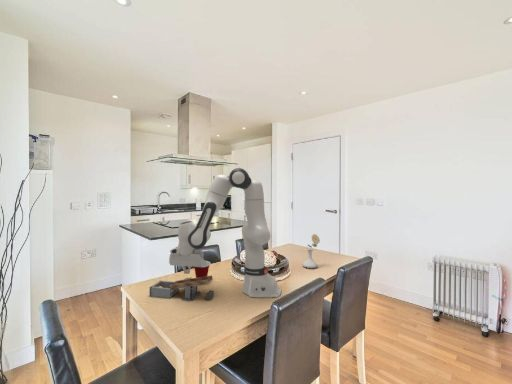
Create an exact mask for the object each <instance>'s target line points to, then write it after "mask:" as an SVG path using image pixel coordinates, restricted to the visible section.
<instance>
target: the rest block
mask: <svg viewBox="0 0 512 384" xmlns="http://www.w3.org/2000/svg"><path fill="white" fill-rule="evenodd" d="M214 292H215V291H214V290H211V289H209V290H208V291H207V292H206V293H205V300H206V301H211V300H212V299H213V298H214V295H215V293H214Z"/></svg>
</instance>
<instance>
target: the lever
mask: <svg viewBox="0 0 512 384" xmlns="http://www.w3.org/2000/svg"><path fill="white" fill-rule="evenodd" d="M212 281H213V275H207V276H205V277H199V278H196V277H194V278H192V276H191V277H185V278H183V279H181V280H175V281H174V282H175V283H176V284H174V285H170V288H171V290H172V289H179V290H180V289H183V288H184V289H185V286H186V285H189V286H191V287H192V286H198V287H199V286H204V285H209V284H210V283H211V282H212Z"/></svg>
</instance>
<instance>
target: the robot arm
mask: <svg viewBox="0 0 512 384" xmlns="http://www.w3.org/2000/svg"><path fill="white" fill-rule="evenodd" d="M232 188H236V189H237V188H238V189H241V190H243V191H244V215H245V216H246V217H245V218H246V220H247V222H245V223H244V224H243V225H242V226H241V227H242V228H241V234H242V238H243V240H242V241H243V246H244V255H245V259H244V263H245V265H244V269H243V274H244V275H243V276H244V281H243V284H242V285H243V286H242V288H241V291H242V293H243V294H245V295H247V296H248V297H249V298H272V297H276V298H279V297H280V296H281V294H282V289H281V287H280V286H278V282H277V279H276V278H275V277H274V276H272V275H271V274H270V273H269V269H268V268H269V267H268V266H265V251H264V248H263V245H266V244H268V243H269V241H270V239H271V232H270V230H269V228H268V223H267V219H266V214H265V213H266V212H265V195H264V194H265V193H264V187H263V184H262V182H261V181H259V180H257V179H252V178H251V177H250V175H249V172H248V171H247V170H246V169H244V168H242V167H241V168H240V167H237V168H234V169H232V170H231V171H230V172H229V175H227V174H217V175H216V176H215V177H214V179H213V180H212V182H211V184H210V186H209V188H208V191H207V194H206V197H205V202H204V205H203V209H202V212H201V214H200V216H199V219H198V222H197V223H195V222H194V221H191V220H187V221H184V222H181V223H179V224H178V232H177V236H178V237H177V238H178V245H177V246H175V247H173V248H171V249H170V251H169V253H170V254H169V259H168V263H169V265H170V266H175V267H176V266H178V267H181V269H182V270H183V274H187V275H188V274H190V272H191V269H192V267H193V268H194V267H202V266H203V265H204V261H205V259H204V255H205V253H204V252H203V250H202V249H203V248H204V247H205V246H206V244H207V243H208V241H210V239H211V235H212V233H211V230H210V228H209V227H210V225H211V222H212V220H213V218H214V216H215V215H216V214H217V212H218V211H220V209H221V208H222V207H223V206H224V204H225V202H226V201H227V197H228V195H229V192H230V191H231V189H232ZM186 267H187V268H186Z"/></svg>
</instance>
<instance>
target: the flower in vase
mask: <svg viewBox="0 0 512 384" xmlns="http://www.w3.org/2000/svg"><path fill="white" fill-rule="evenodd" d="M311 241H312V245H310V244H307V247H308V248H307V249H306V250H307V253H308V254H307V255H308V257H307V259H306V260H305V261H303V262H302V264H301V266H302V267H304V268H306V267H307V268H308V269H315V268H317V267H318V266H319V265H318V263H317V262H316V260H314V259H313V258H312V257H313V255H312V254H313V251H314V248H317V247H318V244H319V243H320V238H319V236H318V235H317V234H316V233H313V234H312V235H311ZM312 247H313V248H312Z"/></svg>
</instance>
